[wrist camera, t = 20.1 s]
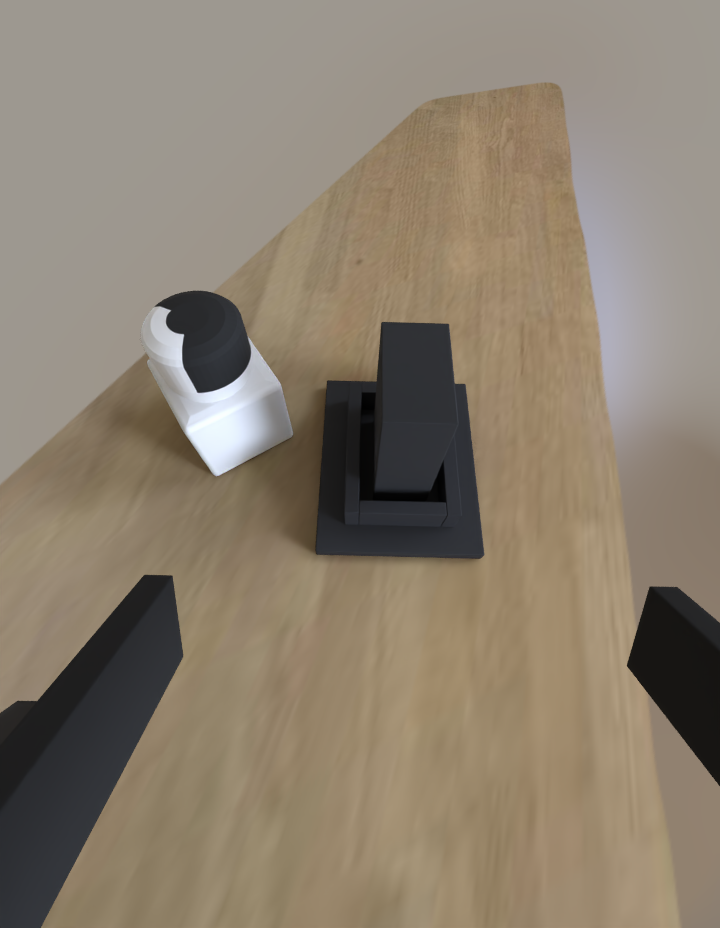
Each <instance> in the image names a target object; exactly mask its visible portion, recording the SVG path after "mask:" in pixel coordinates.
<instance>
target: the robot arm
mask: <svg viewBox="0 0 720 928" xmlns="http://www.w3.org/2000/svg"><path fill="white" fill-rule="evenodd" d="M182 658H183V650H182V643H181V636H180V628H179V621H178V613H177V606H176V598H175V591H174V584H173V576H168V575H144V576H143V577H142V578H141V579H140V581H139V582H138V583H137V584H136V585H135V587H134V588H133V589H132V590H131V591H130V592H129V594H128V595H127V596H126V597H125V598H124V599H123V601H122V602H121V603H120V604H119V605H118V607H117V608H116V609H115V610H114V611H113V612H112V614H111V615H110V616H109V617H108V618H107V620H106V621H105V622H104V623H103V624H102V625H101V627H100V628H99V629H98V630H97V631H96V633H95V634H94V635H93V636H92V637H91V638H90V640H89V641H88V642H87V643H86V644H85V646H84V647H83V648H82V649H81V650H80V651H79V653H78V654H77V655H76V656H75V657H74V659H73V660H72V661H71V662H70V663H69V664H68V666H67V667H66V668H65V669H64V670H63V671H62V673H61V674H60V675H59V676H58V677H57V679H56V680H55V681H54V682H53V683H52V684H51V686H50V687H49V688H48V689H47V690H46V692H45V693H44V694H43V695H42V696H41V697H40V699H39V700H38V701H17V702H15V703H14V704H12V705H11V706H10V707H8V708H7V709H5V710H4V711H3V712H1V713H0V928H41V926H42V924H43V922H44V920H45V918H46V916H47V915H48V913H49V911H50V909H51V907H52V905H53V903H54V901H55V899H56V897H57V896H58V894H59V892H60V890H61V888H62V886H63V884H64V882H65V880H66V878H67V876H68V875H69V873H70V871H71V869H72V867H73V865H74V863H75V861H76V859H77V857H78V856H79V854H80V852H81V850H82V848H83V846H84V844H85V842H86V840H87V838H88V837H89V835H90V833H91V831H92V829H93V827H94V825H95V823H96V821H97V819H98V818H99V816H100V814H101V812H102V810H103V808H104V806H105V804H106V802H107V800H108V799H109V797H110V795H111V793H112V791H113V789H114V787H115V785H116V783H117V781H118V780H119V778H120V776H121V774H122V772H123V770H124V768H125V766H126V764H127V762H128V761H129V759H130V757H131V755H132V753H133V751H134V749H135V747H136V745H137V743H138V742H139V740H140V738H141V736H142V734H143V732H144V730H145V728H146V726H147V724H148V722H149V721H150V719H151V717H152V715H153V713H154V711H155V709H156V707H157V705H158V703H159V702H160V700H161V698H162V696H163V694H164V692H165V690H166V688H167V686H168V684H169V683H170V681H171V679H172V677H173V675H174V673H175V671H176V669H177V667H178V665H179V664H180V662H181V660H182ZM627 667H628V668H629V669H630V671H631V672H632V673H633V674H634V676H635V677H636V678H637V680H638V681H639V682H640V684H641V685H642V686H643V687H644V689H645V690H646V691H647V693H648V694H649V695H650V696H651V698H652V699H653V700H654V702H655V703H656V704H657V705H658V707H659V708H660V709H661V711H662V712H663V713H664V714H665V715H666V717H667V718H668V720H669V721H670V722H671V724H672V725H673V726H674V728H675V729H676V730H677V731H678V733H679V734H680V735H681V737H682V738H683V739H684V740H685V742H686V743H687V744H688V746H689V747H690V748H691V749H692V751H693V752H694V753H695V755H696V756H697V757H698V759H699V760H700V761H701V762H702V764H703V765H704V766H705V768H706V769H707V770H708V771H709V773H710V774H711V775H712V777H713V778H714V779H715V781H716V782H717V783H718V785H719V786H720V623H719V622H718V621H717V620H716V619H715V618H713V617H712V616H711V615H710V614H708V613H707V612H706V611H705V610H704V609H703V608H701V607H700V606H699V605H698V604H697V603H695V602H694V601H693V600H692V599H691V598H690V597H688V596H687V595H686V594H685V593H684V592H682V591H681V590H680V589H679V588H678V587H650V588H649V591H648V594H647V598H646V601H645V605H644V608H643V612H642V615H641V618H640V622H639V625H638V629H637V632H636V636H635V639H634V643H633V646H632V650H631V653H630V656H629V660H628V663H627Z"/></svg>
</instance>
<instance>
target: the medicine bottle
mask: <svg viewBox="0 0 720 928" xmlns="http://www.w3.org/2000/svg"><path fill="white" fill-rule="evenodd" d="M140 337H141V343H142V346H143V348H144V350H145V351H146V353H147V355H148V356H149V358H150V359H149V360H148V361H147V364H148V367H149V369H150V370H151V372H152V374H153V376H154V378H155V380H156V382H157V383H158V385H159V387H160V389H161V391H162V393H163V395H164V397H165V398H166V400H167V402H168V404H169V406H170V408H171V410H172V411H173V413H174V415H175V417H176V419H177V421H178V423H179V424H180V426H181V428H182V430H183V432H184V433H185V435H186V436H187V438H188V439H189V440H190V442H191V443H192V445H193V446H194V448H195V449H196V450H197V452H198V453H199V455H200V456H201V458H202V459H203V460H204V462H205V463H206V465H207V466H208V468H209V469H210V471H211V472H212V473H213V474H214V475H215V476H219V475H221V474H223V473H225V472H227V471H229V470H230V469H232V468H234V467H236V466H238V465H240V464H242V463H244V462H246V461H247V460H249V459H251V458H253V457H255V456H257V455H259V454H261V453H263V452H264V451H266V450H268V449H270V448H272V447H274V446H276V445H278V444H280V443H281V442H283V441H285V440H287V439H289V438H291V437H292V436H293V431H292V427H291V423H290V419H289V415H288V411H287V407H286V403H285V399H284V395H283V391H282V386H281V384H280V382H279V381H278V379H277V378H276V376H275V375H274V374H273V372H272V371H271V369H270V368H269V366H268V365H267V363H266V362H265V361H264V359H263V358H262V356H261V355H260V353H259V352H258V350H257V349H256V348H255V346H254V345H253V343H252V342H251V340H250V339H249V337H248V336H247V333H246V330H245V327H244V324H243V320H242V317H241V314H240V312H239V310H238V309H237V307H236V306H235V305H234V304H233V303H232V302H231V301H229V300H228V299H226V298H224V297H222V296H220V295H218V294H215V293H211V292H207V291H188V292H183V293H179V294H175V295H173V296H170V297H169V298H167V299H164V300H163V301H161V302H160V303H158V304H157V305H156V306H155V307H154V308H153V309H152V310H151V311H150V312H149V314H148V315H147V317H146V318H145V320H144V322H143V325H142V328H141V334H140Z"/></svg>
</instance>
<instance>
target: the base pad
mask: <svg viewBox="0 0 720 928" xmlns="http://www.w3.org/2000/svg"><path fill="white" fill-rule="evenodd" d="M376 385H377V382H365V381H327V391H326V405H325V420H324V434H323V449H322V463H321V478H320V492H319V506H318V521H317V535H316V550H315V551H316V554H317V555H357V556H398V557H438V558H478V559H480V558H482V557H483V556H484V548H483V539H482V530H481V521H480V512H479V503H478V494H477V485H476V476H475V467H474V458H473V449H472V440H471V431H470V421H469V412H468V403H467V394H466V385H465V384H455V393H456V403H457V413H458V426H457V429H456V431H455V434H454V436H453V438H452V441H451V443H450V445H449V448H448V450H447V453H446V455H445V457H444V460H443V462H442V464H441V467H440V469H439V472H438V474H437V476H436V479H435V481H434V483H433V486H432V488H431V491H430V493H429V495H428V498H427V500H426V501H425V502H424V501H385V500H373V425H374V409H375V397H376Z"/></svg>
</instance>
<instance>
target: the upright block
mask: <svg viewBox="0 0 720 928" xmlns="http://www.w3.org/2000/svg"><path fill="white" fill-rule="evenodd" d="M457 426H458V413H457V403H456V393H455V382H454V372H453V362H452V351H451V341H450V331H449V324H435V323H398V322H382V323H381V335H380V347H379V360H378V372H377V385H376V397H375V409H374V425H373V500H385V501H424V502H425V501H426V500H427V498H428V495H429V493H430V491H431V488H432V486H433V483H434V481H435V479H436V476H437V474H438V472H439V469H440V467H441V464H442V462H443V460H444V457H445V455H446V453H447V450H448V448H449V445H450V443H451V441H452V438H453V436H454V434H455V431H456V429H457Z"/></svg>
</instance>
